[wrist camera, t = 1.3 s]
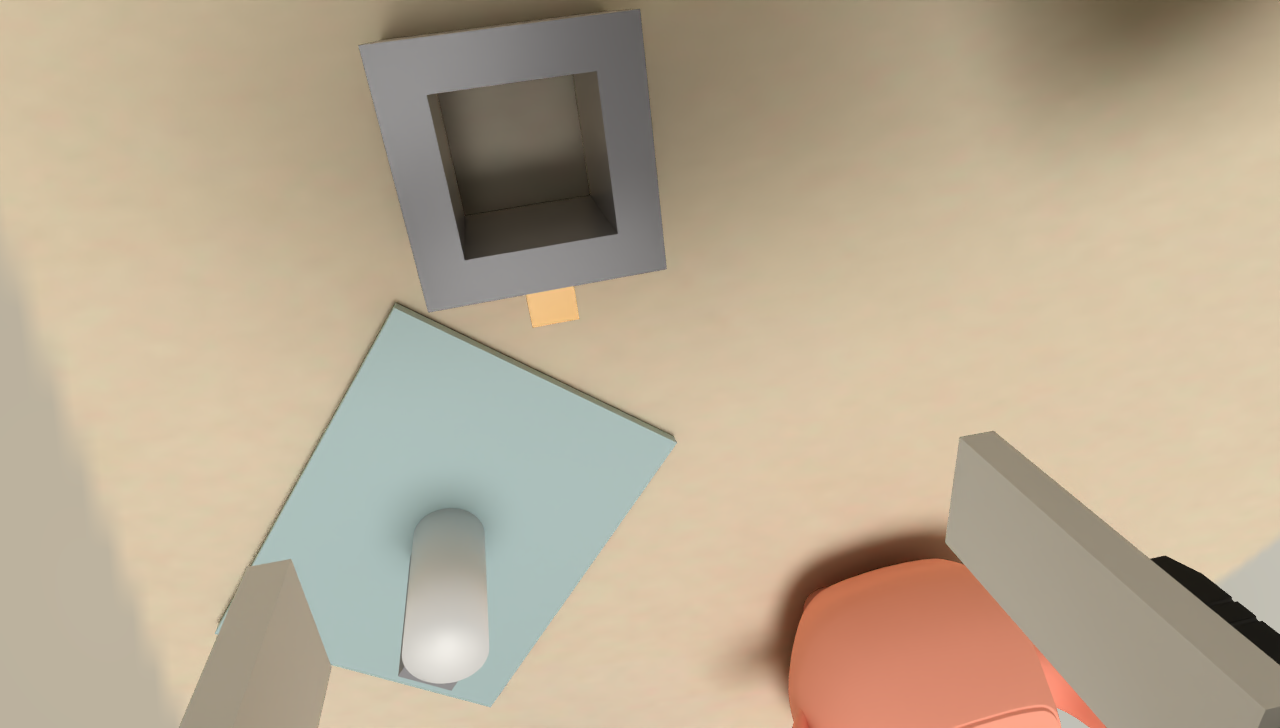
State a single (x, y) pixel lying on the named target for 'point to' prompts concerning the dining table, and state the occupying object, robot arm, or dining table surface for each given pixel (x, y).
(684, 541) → the dining table surface
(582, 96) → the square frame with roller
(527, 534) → the board
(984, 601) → the teapot
